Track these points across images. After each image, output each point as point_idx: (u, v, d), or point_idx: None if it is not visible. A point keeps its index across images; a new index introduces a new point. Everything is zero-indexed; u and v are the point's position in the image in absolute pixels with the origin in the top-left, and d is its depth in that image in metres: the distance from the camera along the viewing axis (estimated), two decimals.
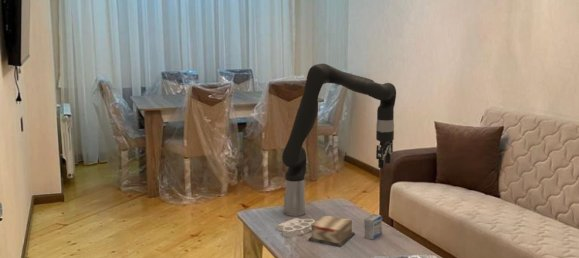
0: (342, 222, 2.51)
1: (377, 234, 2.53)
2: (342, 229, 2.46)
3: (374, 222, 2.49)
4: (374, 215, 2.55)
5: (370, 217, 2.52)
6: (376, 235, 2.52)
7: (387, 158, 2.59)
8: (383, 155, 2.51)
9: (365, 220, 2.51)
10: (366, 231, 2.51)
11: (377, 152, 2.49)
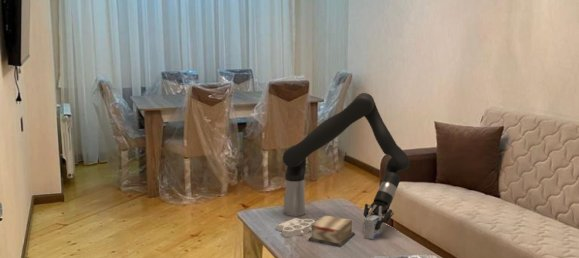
0: (342, 222, 2.51)
1: (377, 234, 2.53)
2: (342, 229, 2.46)
3: (374, 222, 2.49)
4: (374, 215, 2.55)
5: (370, 217, 2.52)
6: (376, 235, 2.52)
7: None
8: None
9: (365, 220, 2.51)
10: (366, 231, 2.51)
11: (388, 216, 2.50)
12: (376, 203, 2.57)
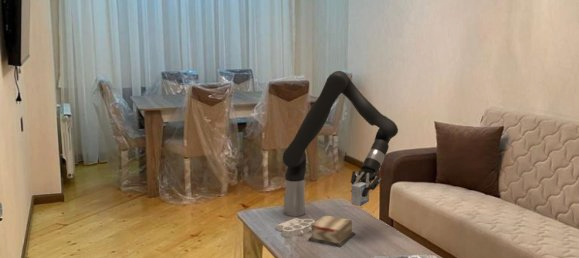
0: (342, 222, 2.51)
1: (364, 201, 2.50)
2: (342, 229, 2.46)
3: (361, 188, 2.46)
4: (361, 182, 2.51)
5: (357, 184, 2.49)
6: (363, 202, 2.49)
7: None
8: None
9: (352, 186, 2.47)
10: (353, 198, 2.48)
11: (376, 182, 2.47)
12: (364, 170, 2.54)
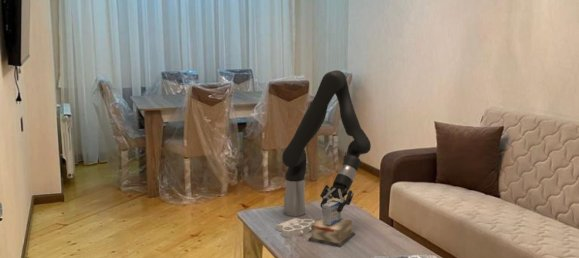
0: (342, 222, 2.51)
1: (335, 220, 2.50)
2: (342, 229, 2.46)
3: (331, 208, 2.47)
4: (333, 201, 2.52)
5: (328, 203, 2.50)
6: (334, 221, 2.49)
7: (324, 203, 2.53)
8: None
9: (323, 206, 2.48)
10: (323, 217, 2.49)
11: (349, 197, 2.47)
12: (335, 186, 2.54)
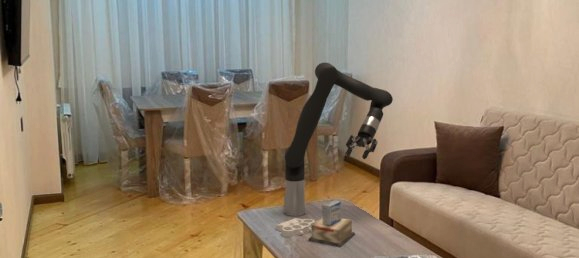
0: (342, 222, 2.51)
1: (335, 220, 2.50)
2: (342, 229, 2.46)
3: (331, 208, 2.47)
4: (333, 201, 2.52)
5: (328, 203, 2.50)
6: (334, 221, 2.49)
7: (350, 151, 2.70)
8: None
9: (323, 206, 2.48)
10: (323, 217, 2.49)
11: (374, 144, 2.65)
12: (360, 136, 2.71)
